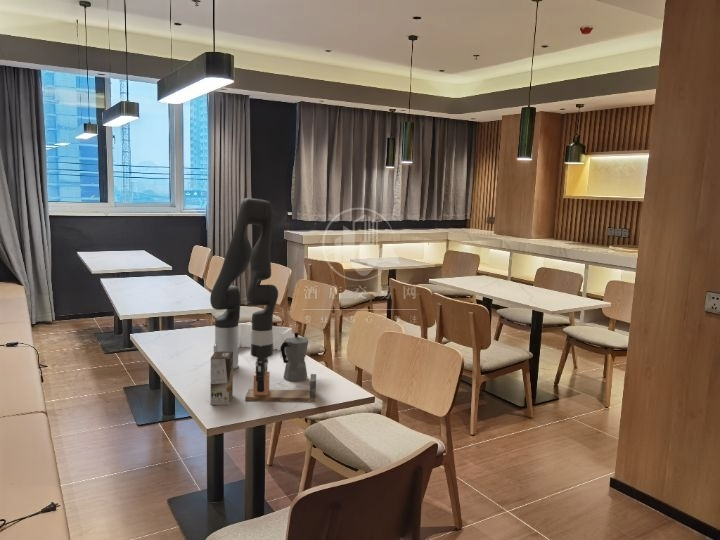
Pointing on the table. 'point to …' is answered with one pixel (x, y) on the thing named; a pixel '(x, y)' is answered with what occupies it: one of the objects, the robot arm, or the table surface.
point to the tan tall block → (266, 385)
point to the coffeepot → (295, 358)
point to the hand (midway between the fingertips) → (261, 388)
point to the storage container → (278, 336)
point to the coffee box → (221, 378)
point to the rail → (286, 394)
